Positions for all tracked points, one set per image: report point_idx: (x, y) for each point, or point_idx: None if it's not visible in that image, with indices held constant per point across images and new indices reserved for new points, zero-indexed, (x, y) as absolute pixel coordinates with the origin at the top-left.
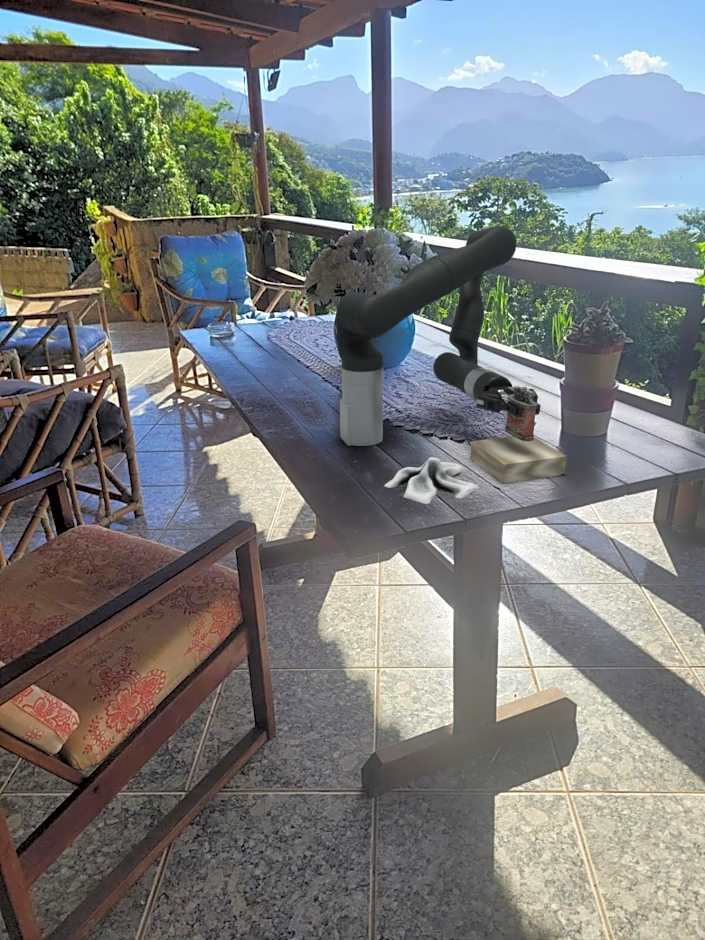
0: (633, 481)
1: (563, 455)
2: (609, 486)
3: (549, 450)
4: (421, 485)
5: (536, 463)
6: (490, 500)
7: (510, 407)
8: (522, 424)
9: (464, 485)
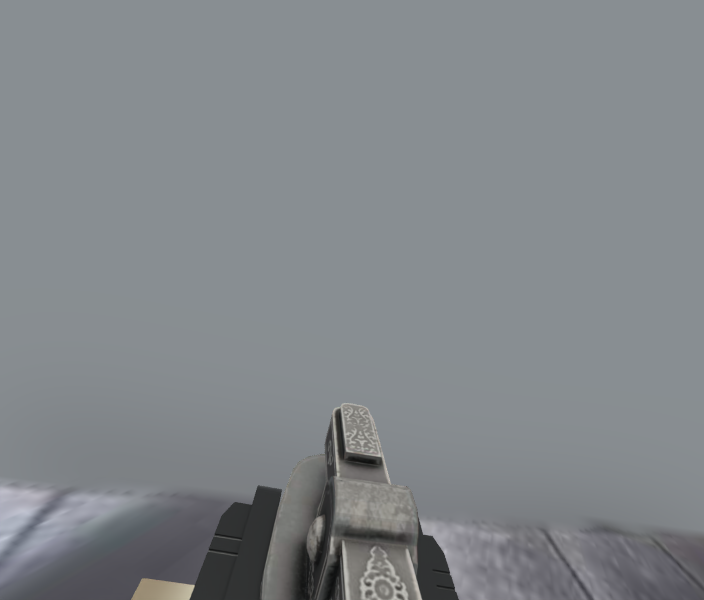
0: (24, 490)
1: (144, 591)
2: (124, 499)
3: None
4: None
5: None
6: (478, 576)
7: (452, 597)
8: None
9: None
